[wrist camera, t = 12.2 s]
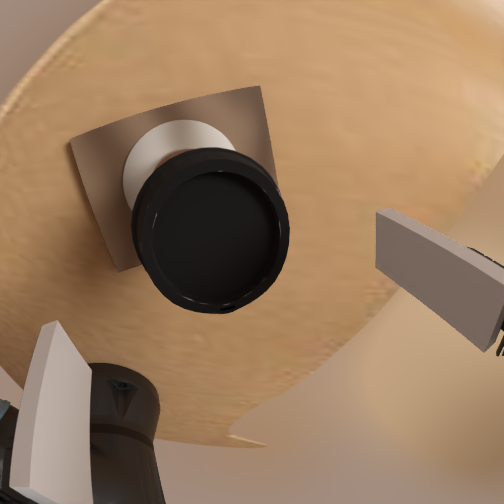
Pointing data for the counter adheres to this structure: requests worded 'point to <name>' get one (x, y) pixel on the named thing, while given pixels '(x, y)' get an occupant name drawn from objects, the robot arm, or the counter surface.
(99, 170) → the board
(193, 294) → the coffee cup
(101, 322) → the counter surface
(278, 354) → the counter surface
